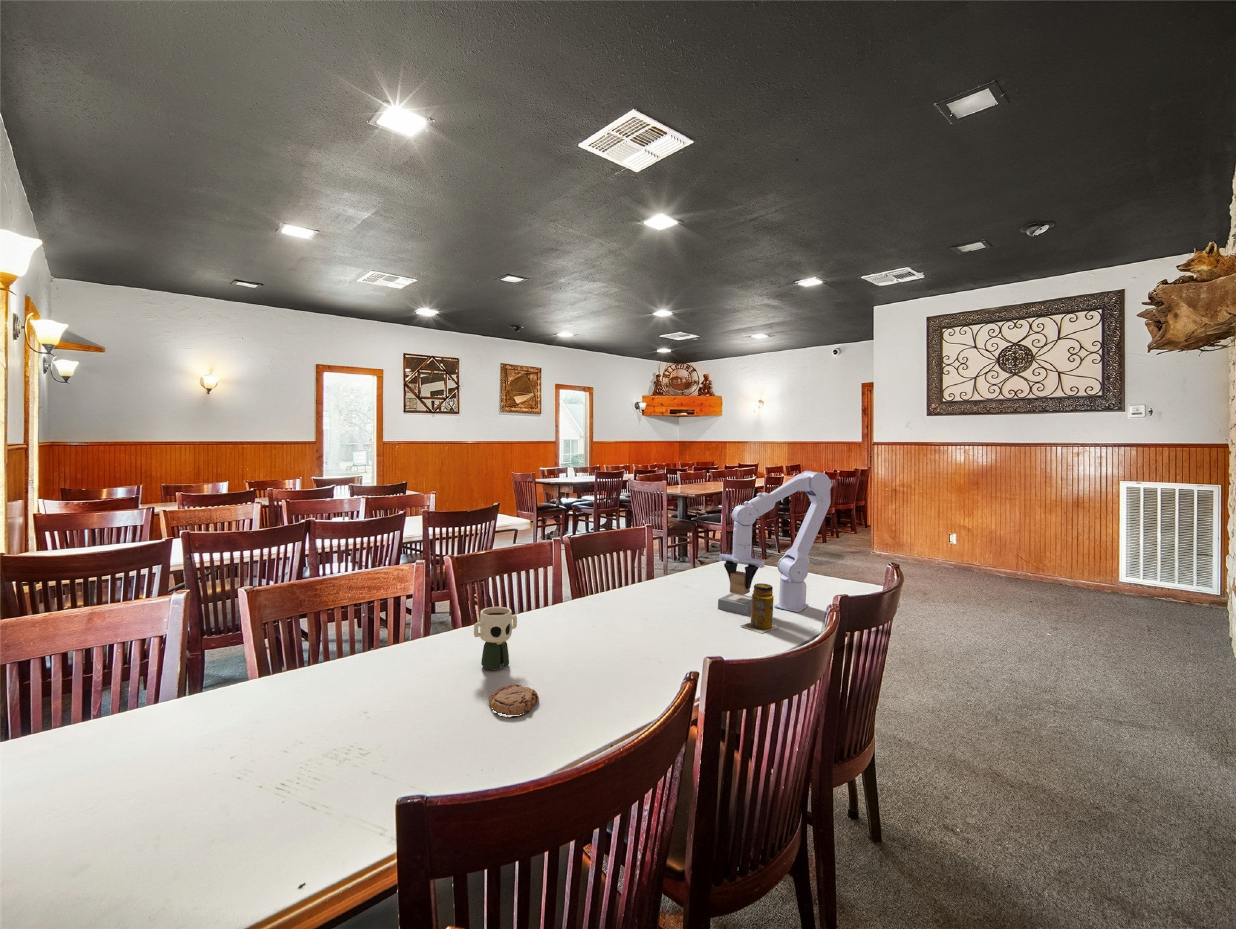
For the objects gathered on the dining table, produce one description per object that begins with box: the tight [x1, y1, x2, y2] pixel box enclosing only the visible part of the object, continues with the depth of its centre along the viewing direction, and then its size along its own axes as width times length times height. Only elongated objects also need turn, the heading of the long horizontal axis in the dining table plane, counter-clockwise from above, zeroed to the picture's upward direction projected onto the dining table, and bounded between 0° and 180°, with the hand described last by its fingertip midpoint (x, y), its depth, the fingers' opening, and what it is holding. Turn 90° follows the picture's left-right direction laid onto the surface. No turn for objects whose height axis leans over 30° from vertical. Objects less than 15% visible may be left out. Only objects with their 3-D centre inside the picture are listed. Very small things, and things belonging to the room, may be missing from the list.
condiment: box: [740, 583, 779, 634], centre depth 168 cm, size 7×8×12 cm
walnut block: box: [729, 570, 751, 595], centre depth 184 cm, size 5×5×6 cm
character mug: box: [473, 606, 518, 671], centre depth 135 cm, size 11×7×13 cm, turn 131°
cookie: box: [487, 683, 540, 715], centre depth 117 cm, size 10×11×3 cm
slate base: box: [717, 592, 752, 616], centre depth 185 cm, size 10×10×3 cm
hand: (740, 586), depth 185 cm, fingers closed on walnut block, 5 cm apart
